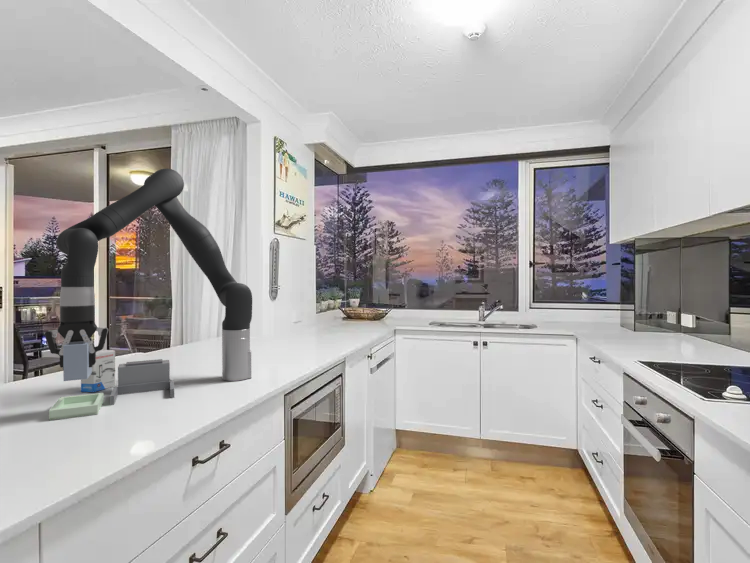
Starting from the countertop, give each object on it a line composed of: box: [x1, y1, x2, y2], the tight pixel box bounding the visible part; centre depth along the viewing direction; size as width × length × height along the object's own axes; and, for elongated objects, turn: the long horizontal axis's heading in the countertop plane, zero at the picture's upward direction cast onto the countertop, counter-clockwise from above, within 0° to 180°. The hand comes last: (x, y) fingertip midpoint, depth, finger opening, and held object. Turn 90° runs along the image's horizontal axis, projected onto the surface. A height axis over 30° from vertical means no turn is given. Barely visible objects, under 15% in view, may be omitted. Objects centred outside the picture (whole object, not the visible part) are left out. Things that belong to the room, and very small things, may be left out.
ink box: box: [80, 349, 116, 393], centre depth 131 cm, size 9×5×12 cm, turn 168°
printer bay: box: [109, 358, 175, 406], centre depth 126 cm, size 16×18×9 cm
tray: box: [48, 392, 105, 421], centre depth 110 cm, size 10×13×2 cm
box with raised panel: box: [62, 341, 92, 382], centre depth 110 cm, size 5×8×10 cm, turn 27°
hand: (78, 367), depth 110 cm, fingers closed on box with raised panel, 5 cm apart
